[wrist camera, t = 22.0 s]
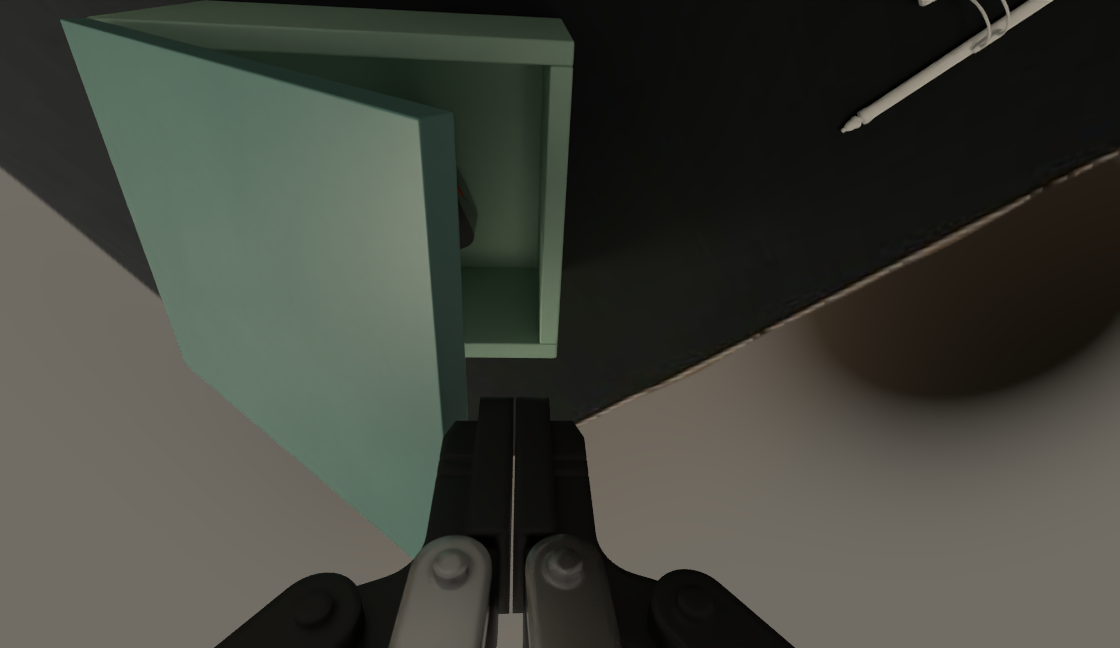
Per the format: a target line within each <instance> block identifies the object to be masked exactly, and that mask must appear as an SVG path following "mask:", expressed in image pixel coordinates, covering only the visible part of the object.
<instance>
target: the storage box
mask: <svg viewBox="0 0 1120 648" xmlns="http://www.w3.org/2000/svg"><path fill="white" fill-rule="evenodd" d="M87 18H90V19H94V20H98V21H102V22H106V23H110V24H114V25H117V26H121V27H125V28H129V29H133V30H137V31H141V32H145V33H149V34H152V35H156V36H160V37H164V38H168V39H172V40H176V41H180V42H183V43H187V44H191V45H195V46H199V47H203V48H207V49H211V50H214V51H218V52H222V53H226V54H230V55H234V56H238V57H242V58H246V59H249V60H253V61H257V62H261V63H265V64H269V65H273V66H277V67H280V68H284V69H288V70H292V71H296V72H300V73H304V74H308V75H312V76H315V77H319V78H323V79H327V80H331V81H335V82H339V83H343V84H346V85H350V86H354V87H358V88H362V89H366V90H370V91H374V92H378V93H381V94H385V95H389V96H393V97H397V98H401V99H405V100H409V101H412V102H416V103H420V104H424V105H428V106H432V107H436V108H440V109H444V110H447V111H451V112H453V113H454V125H455V147H456V164H457V166H458V169H459V171H460V173H461V175H462V178H463V180H464V182H465V185H466V187H467V189H468V191H469V194H470V196H471V198H472V200H473V203H474V205H475V207H476V209H477V213H478V219H477V224H476V230H475V235H474V240H473V242H472V243H471V244H470V245H469V246H467V247H465V248H462V249H460V256H461V278H462V300H463V321H464V343H465V357H505V358H556V356H557V341H558V323H559V306H560V288H561V271H562V253H563V236H564V218H565V201H566V183H567V166H568V148H569V131H570V113H571V96H572V79H573V67H572V66H573V60H574V41H573V39H572V37H571V36H570V34H569V32H568V30H567V29H566V27H565V25H564V23H563V21H562V19H559V18H540V17H520V16H501V15H482V14H462V13H443V12H424V11H404V10H385V9H366V8H346V7H327V6H308V5H288V4H269V3H249V2H230V1H211V0H205V1H199V2H191V3H184V4H177V5H170V6H163V7H156V8H149V9H141V10H134V11H127V12H120V13H113V14H106V15H98V16H91V17H87Z"/></svg>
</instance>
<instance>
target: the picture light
mask: <svg viewBox="0 0 1120 648" xmlns="http://www.w3.org/2000/svg"><path fill="white" fill-rule="evenodd" d="M933 1H936V0H918V2H919V5H920V6H925V5H928V4H930V3H931V2H933ZM971 1H972V2H973V3H974V4H975V5H976V6H977V7H978V9H979V10H980V12H981V13H982V15H983V17H984V19H985V21H986V24H987V28H986V29H984V30H983V31H981V32H980V33H978V34H977V35H975V36H974V37H972V38H971V39H969V40H968V41H966V42H965V43H963V44H961V45H960V46H958V47H957V48H955V49H954V50H952V51H951V52H949V53H948V54H946V55H945V56H943V57H942V58H940V59H939V60H937V61H936V62H934V63H933V64H931V65H930V66H928V67H927V68H925V69H924V70H922V71H921V72H919V73H918V74H916V75H915V76H913V77H912V78H910V79H909V80H907V81H906V82H904V83H903V84H901V85H900V86H898V87H897V88H895V89H894V90H892V91H891V92H889V93H888V94H886V95H885V96H883V97H882V98H880V99H879V100H877V101H875V102H874V103H872V104H871V105H869V106H868V107H866V108H863V109H862V110H860V111H859V112H857V116H858V117H857V116H853V117H851V119H850V120H849V121H848V122H847V123H846V124H845V126H844V128H842V129H841V132H842V133H844V132H845V131H851V130H853V129H855V128H859V127H860V126H861V122H862V123H863V124H867V123H868V122H870V121H871V120H872V119H873V118H874V117H876V116H877V115H879V114H881V113H882V112H884V111H885V110H887V109H888V108H890V107H891V106H893V105H894V104H896V103H897V102H899V101H900V100H902V99H903V98H905V97H906V96H908V95H910V94H911V93H913V92H914V91H916V90H917V89H919V88H920V87H922V86H923V85H925V84H926V83H928V82H929V81H931V80H932V79H934V78H936V77H937V76H939V75H940V74H942V73H943V72H945V71H946V70H948V69H949V68H951V67H952V66H954V65H955V64H957V63H958V62H960V61H961V60H963V59H965V58H966V57H968V56H969V55H971V54H972V53H976V52H978V51H980V50H981V49H983V48H984V47H986V46H987V45H989V44H990V43H992V42H993V41H995V40H996V39H998V38H999V37H1001V36H1002V35H1004V34H1005V32H1006V31H1007V30H1009V29H1010V28H1012V27H1013V26H1015V25H1016V24H1018V23H1019V22H1021V21H1023V20H1024V19H1026V18H1027V17H1029V16H1030V15H1032V14H1033V13H1035V12H1036V11H1038V10H1039V9H1041V8H1042V7H1044V6H1045V5H1047V4H1048V3H1050V2H1052V1H1053V0H1028V1H1026V2H1025V3H1023V4H1022V5H1020V6H1019V7H1017V8H1016V9H1014V10H1013V11H1011V12H1009V8H1008V5H1007V3H1006V1H1005V0H1001V1H1002V3H1003V5H1004V8H1005V10H1006V15H1005V16H1004V17H1002V18H1001V19H999V20H998V21H996V22H995V23H993V24H992V25H990V22H989V19H988V17H987V15H986V13H985V11H984V10H983V8H982V7H981V6H980V4H979V3H978V2H977V1H976V0H971Z"/></svg>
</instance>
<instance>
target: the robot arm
mask: <svg viewBox="0 0 1120 648" xmlns="http://www.w3.org/2000/svg"><path fill="white" fill-rule="evenodd" d="M512 478H513V397H481V398H480V407H479V416H478V421H455V422H454V424H453V425H452V426H451V428H450V429H449V430H448V432H447V433H446V434H445V436H444V437H443V440H442V446H441V452H440V460H439V463H438V469H437V477H436V481H435V487H434V493H433V498H432V504H431V510H430V516H429V522H428V528H427V533H426V538H425V542H424V544H423V546H422V549H421V550H420V551H419V552H418V554H417V555H416V556H415V558H414V559H413V561H412V562H411V563H409V564H408V565H407V566H406V567H404V568H403V569H402V570H400V571H398V572H396V573H394V574H392V575H389V576H387V577H384V578H381V579H378V580H375V581H371V582H368V583H365V584H362V585H359V586H356V585H355V584H354V583H353V582H352V581H351V580H350V579H349V578H347V577H346V576H343V575H341V574H337V573H318V574H315V575H311V576H309V577H306V578H303V579H301V580H299V581H298V582H296V583H294V584H293V585H291V586H290V587H289V588H287V589H286V590H285V591H284V592H283V593H281V594H280V595H279V596H278V597H276V598H275V599H274V600H273V601H271V602H270V603H269V604H268V605H266V606H265V607H264V608H263V609H261V610H260V611H259V612H258V613H256V614H255V615H254V616H253V617H252V618H250V619H249V620H248V621H247V622H245V623H244V624H243V625H242V626H240V627H239V628H238V629H237V630H235V631H234V632H233V633H232V634H231V635H230V636H228V637H227V638H226V639H225V640H223V641H222V642H221V643H219V644H218V645H217V646H216V647H214V648H496V646H497V634H498V614H508V613H509V599H510V597H509V596H510V558H511V519H512V518H511V517H512ZM514 489H515V490H514V540H513V544H514V545H513V613H523V648H795V647H793V646H792V645H791V644H790V643H789V642H788V641H786V640H785V639H784V638H783V637H782V636H781V635H779V634H778V633H777V632H776V631H775V630H774V629H772V628H771V627H770V626H769V625H768V624H766V623H765V622H764V621H763V620H762V619H761V618H760V617H758V616H757V615H756V614H755V613H754V612H753V611H752V610H750V609H749V608H748V607H747V606H746V605H745V604H743V603H742V602H741V601H740V600H739V599H737V598H736V597H735V596H734V595H733V594H732V593H731V592H729V591H728V590H727V589H726V588H725V587H723V586H722V585H721V584H720V583H719V582H717V581H716V580H715V579H714V578H712V577H710V576H708V575H707V574H704V573H702V572H699V571H695V570H688V569H681V570H675V571H672V572H669V573H667V574H666V575H664V576H662V577H661V578H660V579H659V580H658V581H657V580H654V579H650V578H647V577H643V576H640V575H636V574H633V573H631V572H628V571H625V570H624V569H622V568H620V567H618V566H617V565H615V564H614V563H612V561H611V560H609V559H608V558H607V557H606V555H605V554H604V553H603V552H602V550H601V548H600V546H599V544H598V541H597V538H596V532H595V524H594V516H593V508H592V500H591V491H590V483H589V477H588V466H587V461H586V450H585V441H584V437H583V436H582V434H581V433H580V431H579V430H578V428H577V427H576V425H575V424H574V422H573V421H550V407H549V397H516V440H515V488H514Z"/></svg>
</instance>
